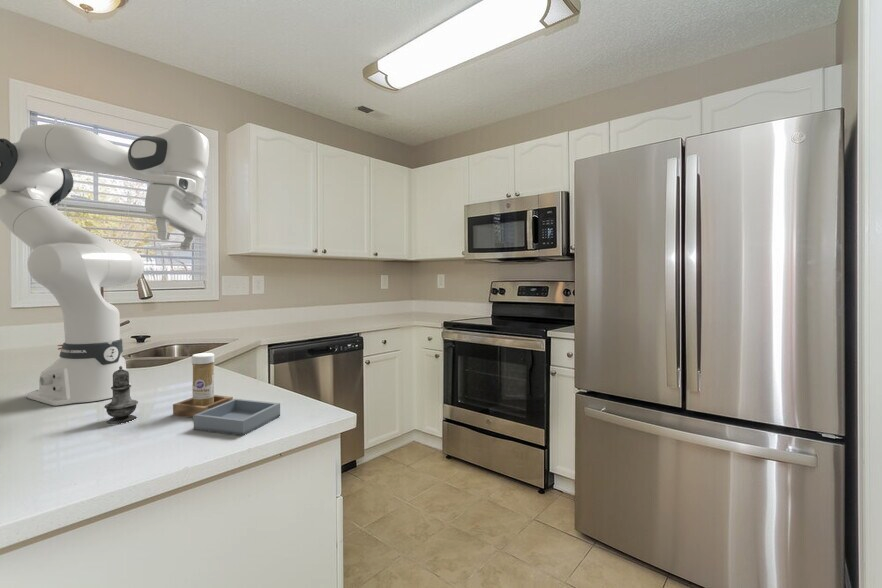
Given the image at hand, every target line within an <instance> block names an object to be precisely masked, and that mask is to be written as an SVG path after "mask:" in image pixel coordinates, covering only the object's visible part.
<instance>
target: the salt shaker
mask: <svg viewBox="0 0 882 588" xmlns="http://www.w3.org/2000/svg"><path fill="white" fill-rule="evenodd" d="M122 368H123V367H122V366H120V367H119V370H118V371H115V372H114V373H113V387H111V389H112V390H113V397H112V398H111V402H109V403H107V404H105V405H104V408H103V409H106V411H105V412H106V413H107V414H108V416H110V419H108V420H107V421H106V424H107V425H110V424H117V425H122V424H121V423H124V424H127V423H126V422H128V423H130V422H129V421H132V420H134V419H136V418H137V416H136V415H133V413H134V412H135V411H136V409H137V405H138V403H139V401H138V400H135V399H132V397H131V394H130V393H131V390H130V388H131V387H132V384H131V385H129V382H130V373H129V371H128V370H127V369H126V370H127V371H126V370H123V369H122ZM136 420H137V419H136ZM134 421H135V420H134ZM132 422H133V421H132Z"/></svg>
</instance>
